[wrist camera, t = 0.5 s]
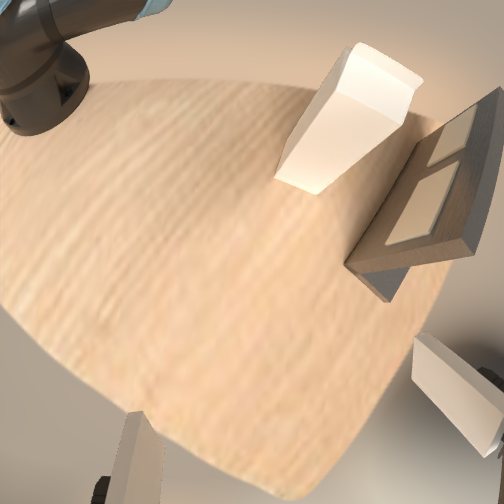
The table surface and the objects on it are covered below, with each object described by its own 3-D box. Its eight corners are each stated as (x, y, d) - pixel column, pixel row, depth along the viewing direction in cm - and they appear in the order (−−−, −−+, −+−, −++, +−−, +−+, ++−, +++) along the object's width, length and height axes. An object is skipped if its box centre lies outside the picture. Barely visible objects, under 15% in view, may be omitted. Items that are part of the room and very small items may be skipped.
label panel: (341, 263, 38) (458, 235, 18) (416, 141, 44) (498, 84, 24) (384, 302, 38) (504, 300, 19) (447, 176, 44) (533, 133, 25)
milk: (316, 195, 39) (427, 108, 17) (272, 177, 38) (353, 65, 16) (326, 156, 40) (425, 59, 18) (285, 139, 39) (362, 21, 17)
